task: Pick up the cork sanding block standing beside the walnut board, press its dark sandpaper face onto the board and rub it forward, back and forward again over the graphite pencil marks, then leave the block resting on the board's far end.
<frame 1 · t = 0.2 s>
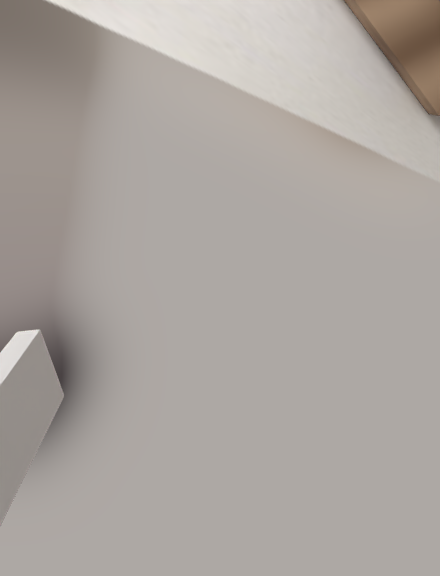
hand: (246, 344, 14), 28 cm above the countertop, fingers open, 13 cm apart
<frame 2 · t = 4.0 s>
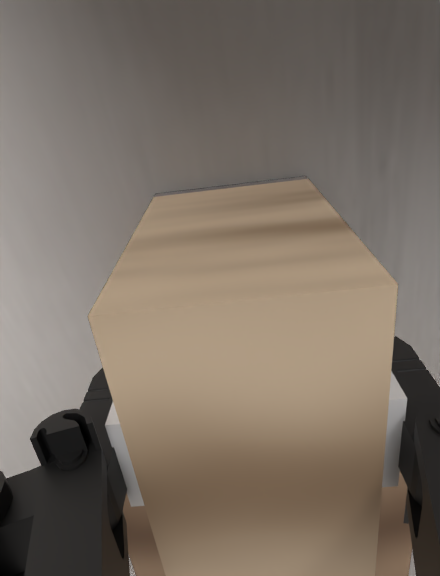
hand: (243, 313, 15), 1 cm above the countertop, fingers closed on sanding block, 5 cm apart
walnut board: (271, 564, 23), on the countertop
sanding block: (242, 303, 16), on the countertop, touching gripper, walnut board
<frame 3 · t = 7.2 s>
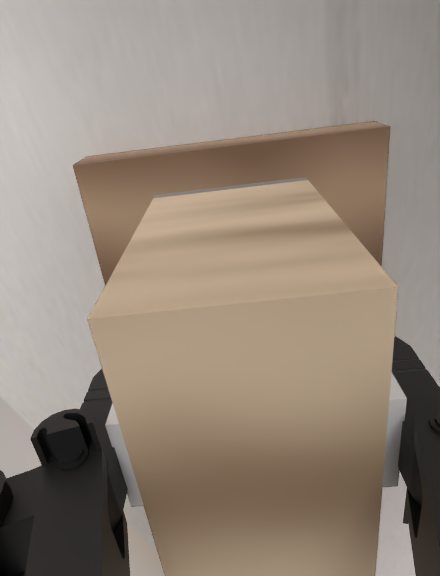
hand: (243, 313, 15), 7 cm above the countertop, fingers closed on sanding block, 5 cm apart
walnut board: (250, 355, 24), on the countertop
sanding block: (242, 304, 16), point 6 cm above the countertop, touching gripper
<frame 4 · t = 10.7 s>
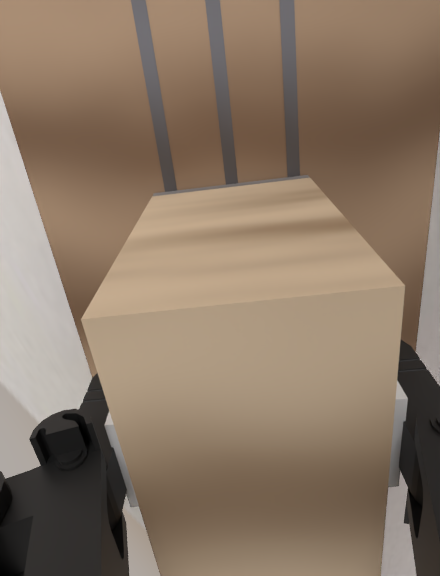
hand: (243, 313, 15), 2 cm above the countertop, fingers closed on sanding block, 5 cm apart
walnut board: (224, 113, 15), on the countertop
sanding block: (243, 305, 16), point 2 cm above the countertop, touching gripper
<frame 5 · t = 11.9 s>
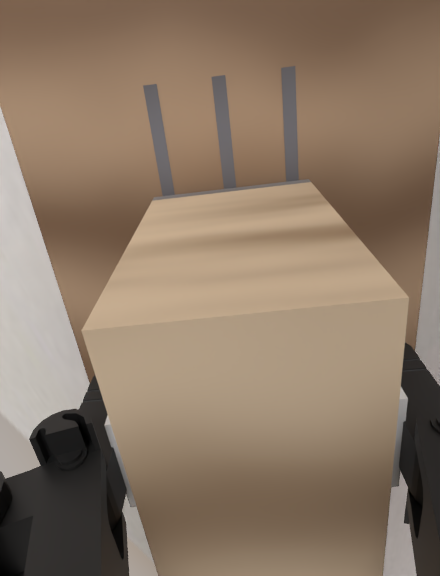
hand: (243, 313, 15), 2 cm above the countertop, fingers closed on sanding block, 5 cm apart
walnut board: (231, 195, 16), on the countertop
sanding block: (243, 309, 16), point 2 cm above the countertop, touching gripper
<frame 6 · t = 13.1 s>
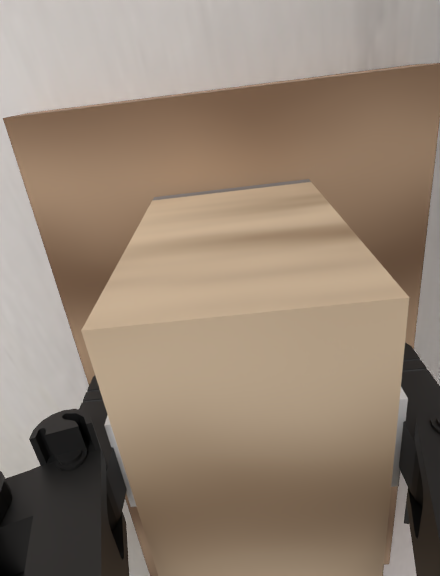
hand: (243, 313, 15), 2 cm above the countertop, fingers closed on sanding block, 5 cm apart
walnut board: (248, 374, 19), on the countertop
sanding block: (243, 309, 16), point 2 cm above the countertop, touching gripper
when the fingers open (4 cm above the countertop, at t = 17.5 s): sanding block drops 1 cm, resting on walnut board.
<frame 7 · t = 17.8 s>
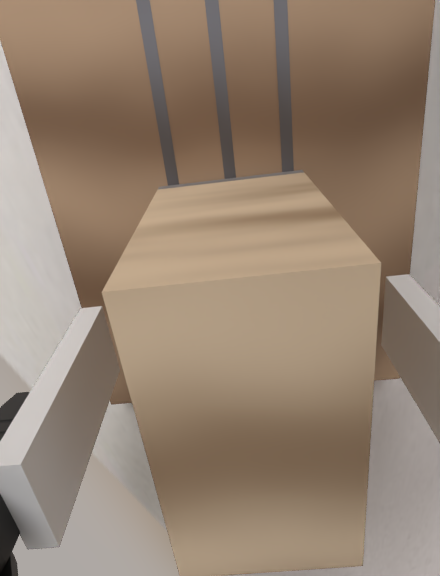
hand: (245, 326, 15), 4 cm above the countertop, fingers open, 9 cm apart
walnut board: (222, 98, 15), on the countertop
sanding block: (242, 292, 17), point 2 cm above the countertop, touching walnut board
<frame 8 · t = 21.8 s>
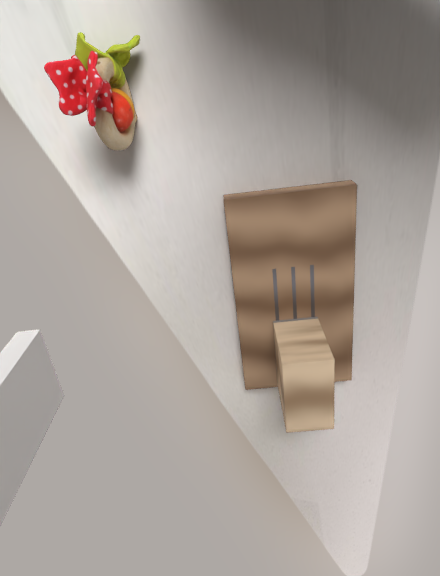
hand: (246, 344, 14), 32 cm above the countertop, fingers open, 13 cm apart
bird rattle: (122, 90, 39), on the countertop
walnut board: (291, 291, 48), on the countertop
sanding block: (296, 351, 50), point 2 cm above the countertop, touching walnut board
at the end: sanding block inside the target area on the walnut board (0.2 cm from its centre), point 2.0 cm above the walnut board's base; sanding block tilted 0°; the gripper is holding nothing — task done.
